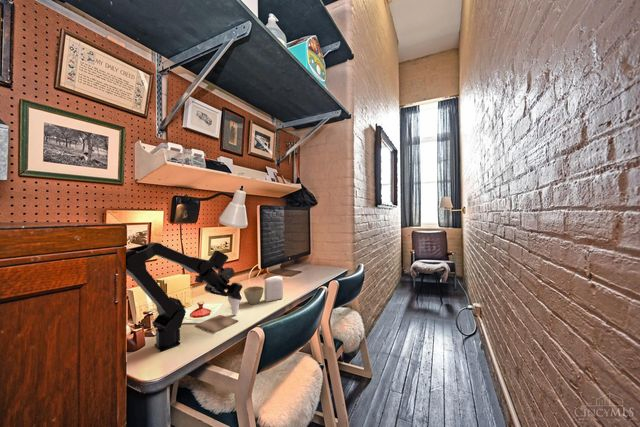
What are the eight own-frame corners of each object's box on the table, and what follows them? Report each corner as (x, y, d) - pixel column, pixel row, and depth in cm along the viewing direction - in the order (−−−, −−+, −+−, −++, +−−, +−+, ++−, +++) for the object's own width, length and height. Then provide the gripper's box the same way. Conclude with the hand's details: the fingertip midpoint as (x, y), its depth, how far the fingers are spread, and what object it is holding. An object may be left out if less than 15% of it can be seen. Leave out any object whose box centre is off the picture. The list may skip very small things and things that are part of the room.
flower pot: (248, 299, 139) (248, 286, 139) (266, 299, 138) (266, 286, 138) (240, 305, 129) (240, 291, 129) (259, 306, 128) (259, 292, 128)
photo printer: (280, 296, 143) (280, 274, 143) (284, 298, 139) (284, 276, 139) (263, 300, 137) (263, 277, 137) (266, 302, 133) (266, 278, 133)
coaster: (214, 333, 99) (214, 331, 99) (195, 326, 105) (195, 324, 105) (238, 321, 110) (238, 320, 110) (219, 316, 116) (219, 314, 116)
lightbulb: (237, 318, 114) (237, 293, 113) (225, 316, 115) (225, 292, 115) (244, 313, 119) (244, 289, 119) (232, 311, 121) (232, 288, 121)
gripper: (238, 265, 107) (257, 284, 117) (209, 260, 116) (229, 279, 126) (223, 288, 100) (244, 307, 110) (194, 282, 110) (216, 299, 119)
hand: (233, 297), depth 117 cm, fingers open, 9 cm apart
